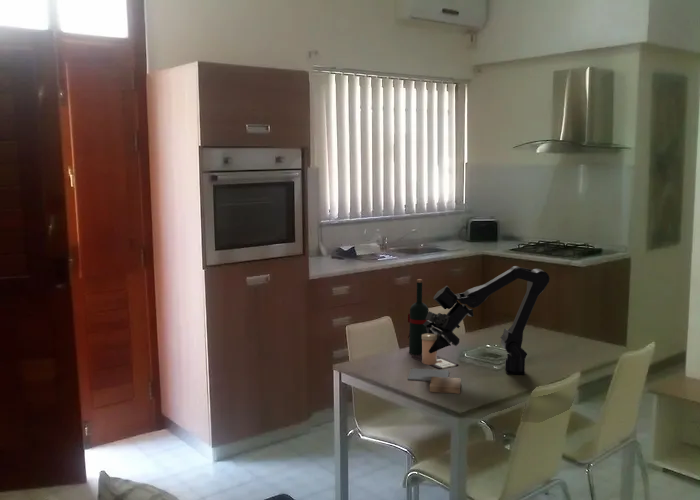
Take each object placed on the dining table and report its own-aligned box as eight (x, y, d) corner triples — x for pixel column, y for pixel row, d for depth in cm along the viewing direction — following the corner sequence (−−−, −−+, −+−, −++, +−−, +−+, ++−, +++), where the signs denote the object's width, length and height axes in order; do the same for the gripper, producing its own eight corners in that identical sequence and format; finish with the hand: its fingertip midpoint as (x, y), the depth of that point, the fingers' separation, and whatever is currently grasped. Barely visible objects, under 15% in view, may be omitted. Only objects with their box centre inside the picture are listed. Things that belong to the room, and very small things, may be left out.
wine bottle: (416, 347, 280) (417, 276, 276) (432, 353, 272) (433, 279, 268) (401, 350, 275) (402, 278, 272) (417, 356, 267) (418, 281, 263)
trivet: (460, 383, 234) (460, 378, 234) (459, 393, 224) (459, 387, 224) (431, 382, 236) (431, 376, 236) (429, 391, 226) (429, 386, 226)
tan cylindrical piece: (437, 360, 245) (437, 333, 243) (436, 365, 239) (436, 337, 238) (422, 359, 246) (422, 333, 244) (420, 364, 240) (421, 337, 239)
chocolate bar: (429, 352, 270) (458, 364, 255) (429, 355, 270) (458, 366, 255) (411, 356, 266) (439, 367, 250) (411, 358, 266) (439, 370, 251)
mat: (449, 371, 248) (449, 370, 248) (447, 382, 236) (447, 380, 236) (411, 369, 250) (411, 368, 250) (407, 379, 238) (407, 378, 238)
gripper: (428, 298, 250) (401, 330, 247) (452, 309, 232) (422, 343, 230) (447, 317, 253) (420, 349, 251) (471, 329, 236) (443, 363, 234)
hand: (426, 350), depth 241 cm, fingers closed on tan cylindrical piece, 5 cm apart
